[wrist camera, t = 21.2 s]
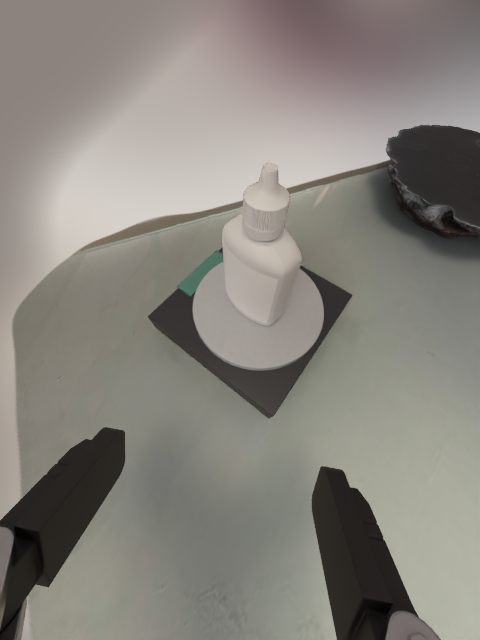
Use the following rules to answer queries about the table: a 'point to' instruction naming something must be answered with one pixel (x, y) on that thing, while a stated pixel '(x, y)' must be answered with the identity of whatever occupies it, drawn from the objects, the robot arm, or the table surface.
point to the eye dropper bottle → (261, 251)
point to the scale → (250, 332)
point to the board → (438, 178)
